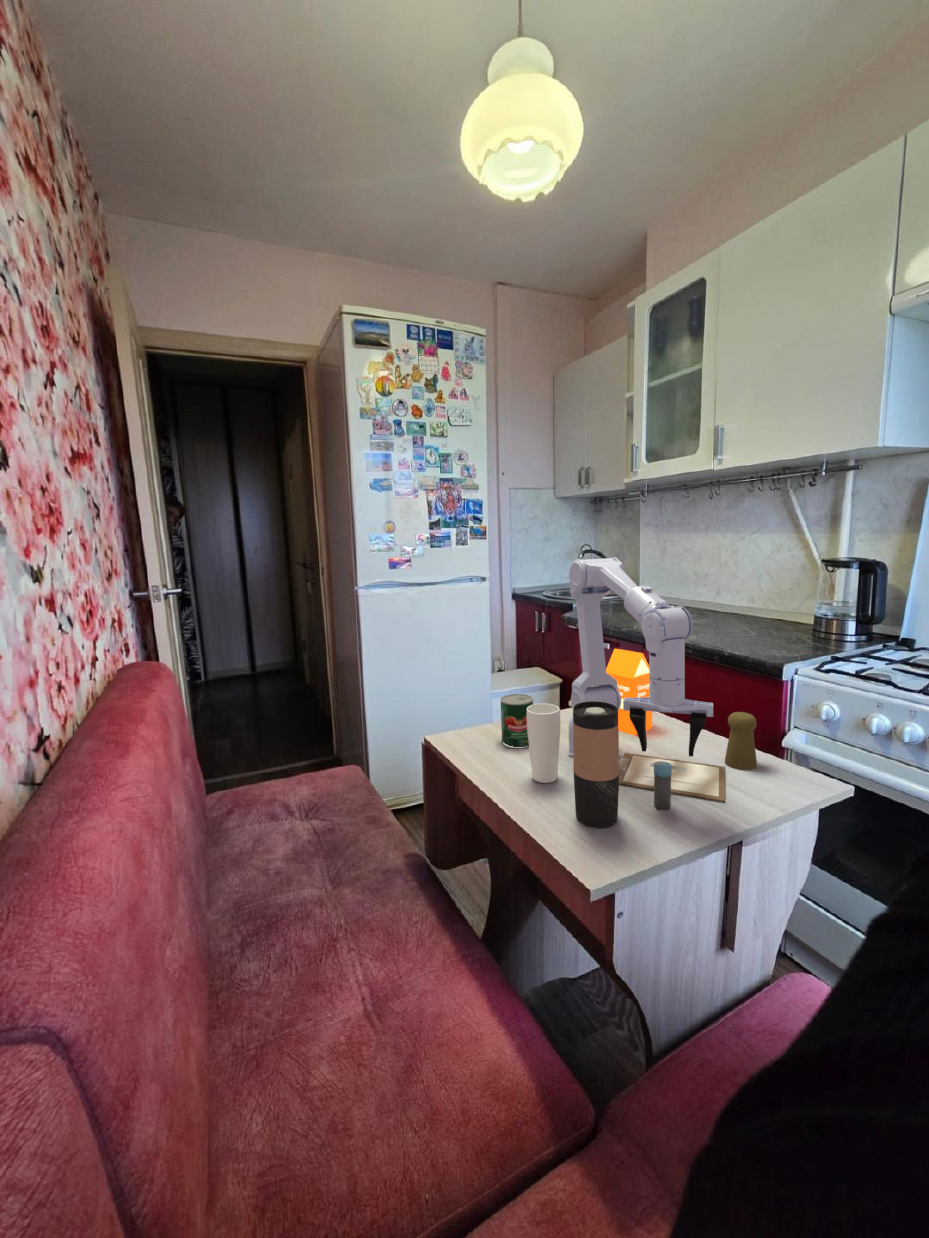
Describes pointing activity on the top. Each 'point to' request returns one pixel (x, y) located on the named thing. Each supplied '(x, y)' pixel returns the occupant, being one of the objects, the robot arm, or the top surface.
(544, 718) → the drinking glass
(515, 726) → the canned tomato
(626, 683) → the orange juice
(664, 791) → the marker
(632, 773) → the clipboard
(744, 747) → the cork
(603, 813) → the travel mug
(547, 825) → the top surface
